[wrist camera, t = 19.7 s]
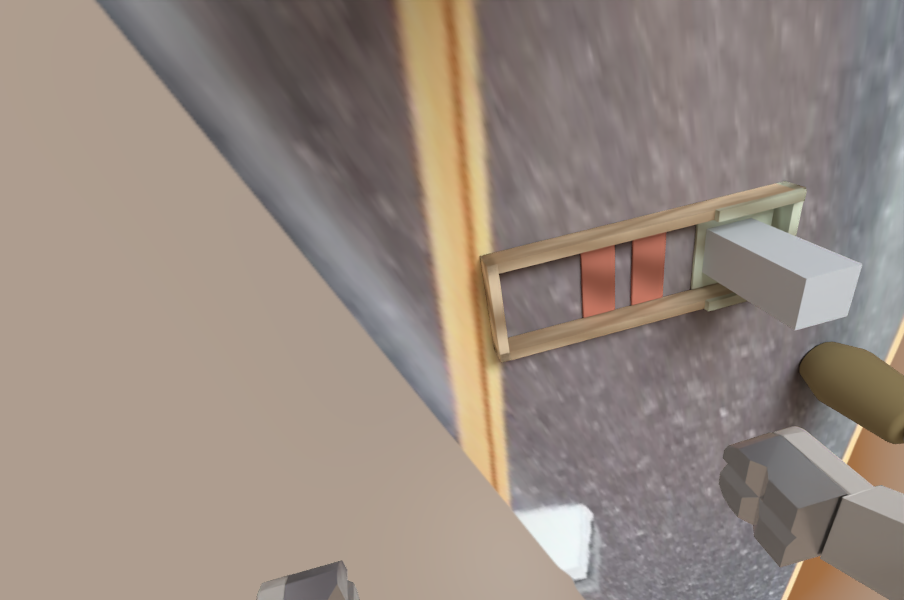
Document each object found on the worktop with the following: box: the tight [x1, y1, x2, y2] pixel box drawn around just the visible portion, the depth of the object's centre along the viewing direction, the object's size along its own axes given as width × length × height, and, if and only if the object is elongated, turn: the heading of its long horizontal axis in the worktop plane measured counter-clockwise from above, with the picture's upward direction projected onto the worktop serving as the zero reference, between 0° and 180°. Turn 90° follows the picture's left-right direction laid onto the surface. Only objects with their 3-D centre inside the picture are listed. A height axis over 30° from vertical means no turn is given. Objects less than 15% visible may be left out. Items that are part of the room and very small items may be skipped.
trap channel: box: [480, 181, 807, 363], centre depth 47 cm, size 11×32×3 cm, turn 100°
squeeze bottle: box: [799, 342, 904, 444], centre depth 53 cm, size 8×8×18 cm
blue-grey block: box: [702, 218, 862, 330], centre depth 44 cm, size 5×5×12 cm
